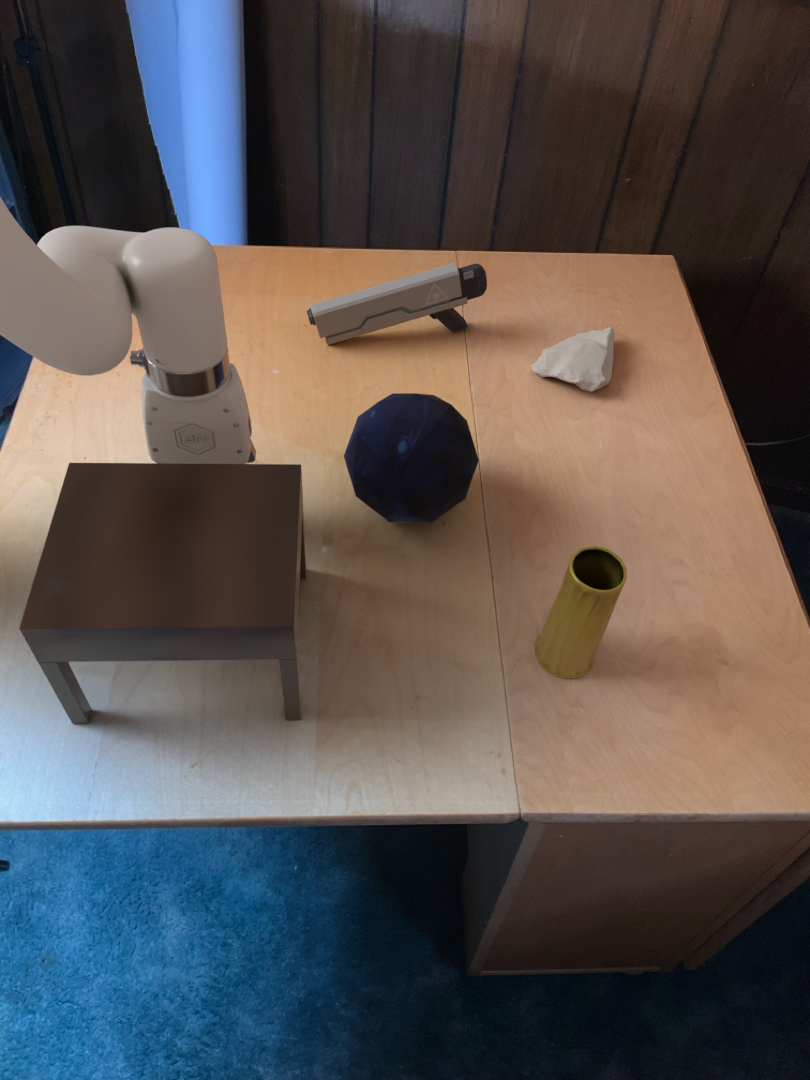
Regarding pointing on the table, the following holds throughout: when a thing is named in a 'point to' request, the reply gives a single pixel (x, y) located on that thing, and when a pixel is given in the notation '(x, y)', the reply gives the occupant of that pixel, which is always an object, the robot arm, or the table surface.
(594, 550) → the vase
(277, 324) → the table surface
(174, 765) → the table surface
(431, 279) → the gun
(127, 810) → the table surface
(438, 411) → the decorative orb
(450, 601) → the table surface
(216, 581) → the miniature coffee table
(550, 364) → the stone
